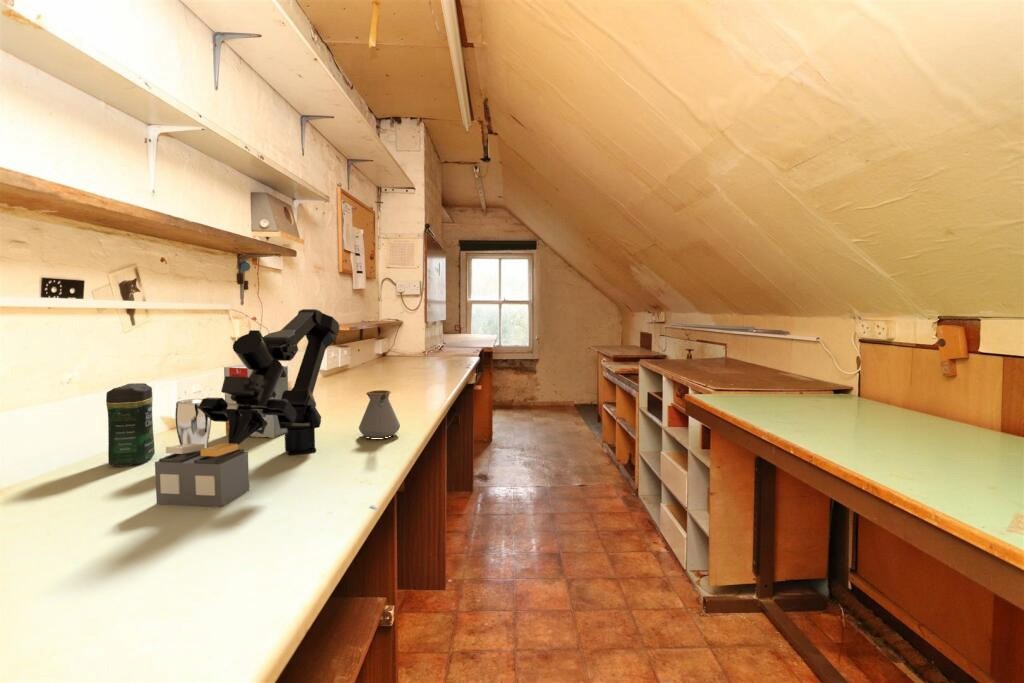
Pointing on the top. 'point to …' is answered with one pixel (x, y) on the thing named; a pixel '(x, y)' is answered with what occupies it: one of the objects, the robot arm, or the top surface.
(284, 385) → the hard drive box
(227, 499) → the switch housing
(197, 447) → the white rocker
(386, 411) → the coffee pot
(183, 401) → the beer glass
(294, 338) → the robot arm
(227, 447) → the amber rocker
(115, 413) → the coffee jar
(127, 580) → the top surface
